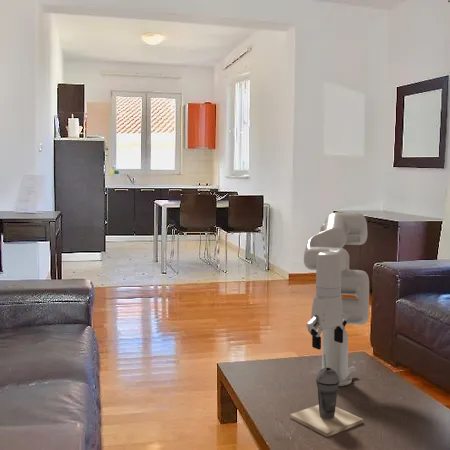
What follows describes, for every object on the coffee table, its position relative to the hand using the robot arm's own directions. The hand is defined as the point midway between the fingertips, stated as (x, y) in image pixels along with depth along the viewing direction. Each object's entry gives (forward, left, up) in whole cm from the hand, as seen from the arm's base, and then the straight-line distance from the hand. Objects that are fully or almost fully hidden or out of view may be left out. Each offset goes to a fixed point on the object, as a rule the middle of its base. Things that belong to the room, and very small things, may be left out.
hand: (327, 345), depth 176 cm
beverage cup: (0, 0, -23) cm, 23 cm away
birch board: (0, 0, -24) cm, 24 cm away
